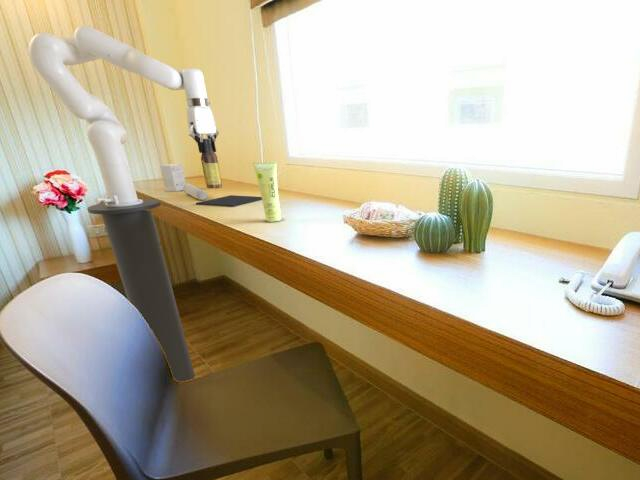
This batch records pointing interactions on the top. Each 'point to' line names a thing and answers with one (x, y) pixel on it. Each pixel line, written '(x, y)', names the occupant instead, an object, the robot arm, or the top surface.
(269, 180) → the tube
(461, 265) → the top surface
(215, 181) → the sauce bottle
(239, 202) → the mat
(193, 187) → the tube
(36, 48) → the robot arm
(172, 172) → the small box
